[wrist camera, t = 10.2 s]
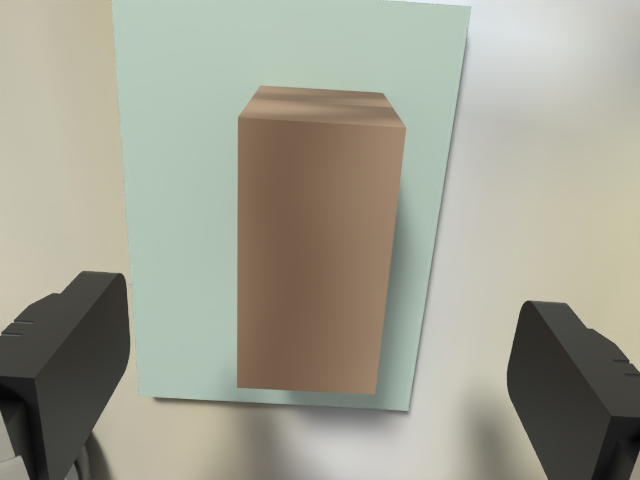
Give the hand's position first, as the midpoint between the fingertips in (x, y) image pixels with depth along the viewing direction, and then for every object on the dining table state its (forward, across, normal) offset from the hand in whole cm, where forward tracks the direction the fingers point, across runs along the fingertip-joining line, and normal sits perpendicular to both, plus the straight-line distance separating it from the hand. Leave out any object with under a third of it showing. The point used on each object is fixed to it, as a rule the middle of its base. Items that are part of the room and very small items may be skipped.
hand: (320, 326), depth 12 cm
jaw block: (+7, 0, 0) cm, 7 cm away
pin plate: (+8, +1, +1) cm, 8 cm away
